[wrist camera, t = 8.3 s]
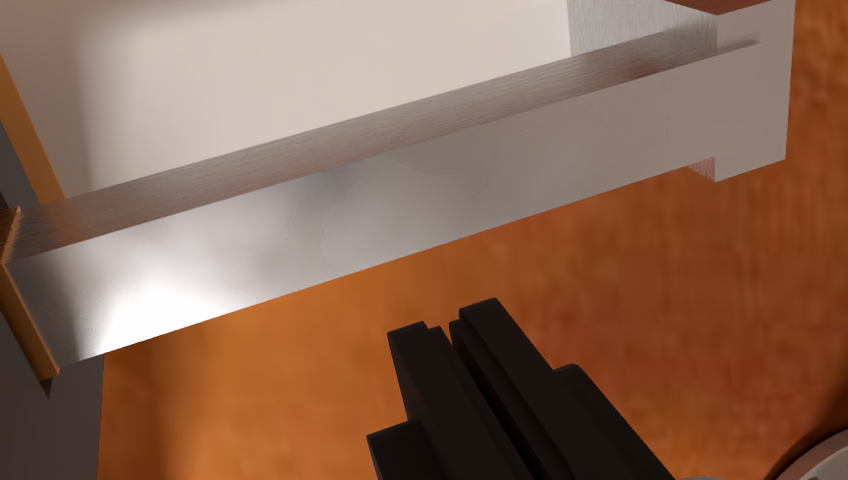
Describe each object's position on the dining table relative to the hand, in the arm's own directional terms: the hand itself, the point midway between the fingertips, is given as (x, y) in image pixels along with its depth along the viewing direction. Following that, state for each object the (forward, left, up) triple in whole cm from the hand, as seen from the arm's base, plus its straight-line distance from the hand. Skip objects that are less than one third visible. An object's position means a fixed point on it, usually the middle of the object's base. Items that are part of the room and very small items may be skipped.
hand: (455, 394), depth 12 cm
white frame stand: (+2, -1, -13) cm, 13 cm away
